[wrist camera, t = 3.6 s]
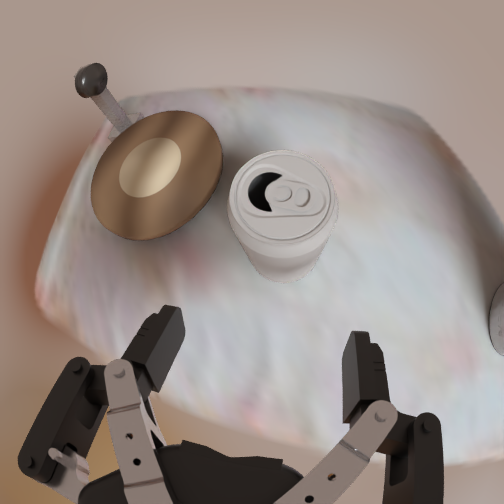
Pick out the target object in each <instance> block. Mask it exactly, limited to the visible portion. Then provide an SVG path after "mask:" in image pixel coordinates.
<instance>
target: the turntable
mask: <svg viewBox="0 0 504 504" xmlns="http://www.w3.org/2000/svg"><path fill="white" fill-rule="evenodd" d="M222 166H223V153H222V147H221V144H220V141H219V139H218V136H217V134H216V132H215V130H214V128H213V127H212V126H211V125H210V124H209V123H208V122H207V121H206V120H205V119H203V118H202V117H200V116H198V115H196V114H193V113H190V112H185V111H166V112H161V113H157V114H153V115H151V116H148V117H145V118H143V119H141V120H139V121H137V122H136V123H134V124H132V125H131V126H130V127H128V128H127V129H125V130H124V131H123V132H122V133H121V134H119V135H118V136H117V137H116V138H115V139H114V140H113V142H112V143H111V144H110V145H109V146H108V148H107V149H106V151H105V152H104V153H103V155H102V157H101V159H100V160H99V162H98V165H97V167H96V169H95V172H94V175H93V179H92V184H91V202H92V207H93V210H94V213H95V215H96V217H97V219H98V220H99V221H100V223H101V224H102V225H103V226H104V227H105V228H107V229H108V230H110V231H111V232H113V233H115V234H117V235H118V236H121V237H123V238H126V239H131V240H149V239H154V238H158V237H161V236H164V235H166V234H169V233H171V232H173V231H175V230H177V229H178V228H180V227H181V226H183V225H184V224H186V223H187V222H188V221H190V220H191V219H192V218H193V217H194V216H195V215H196V214H197V213H198V212H199V211H200V210H201V209H202V208H203V207H204V206H205V204H206V203H207V202H208V200H209V199H210V197H211V196H212V194H213V192H214V191H215V189H216V186H217V184H218V182H219V179H220V176H221V172H222Z"/></svg>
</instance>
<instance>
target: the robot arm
mask: <svg viewBox="0 0 504 504" xmlns="http://www.w3.org/2000/svg"><path fill="white" fill-rule="evenodd" d="M489 327H490V336H491V340H492V343H493V345H494V348H495V349H496V351H497V352H498V353H499V354H501V355H503V356H504V283H503V284H502V285H501V286H500V287H499V288H498V290H497V292H496V294H495V296H494V299H493V301H492V306H491V310H490V325H489ZM184 337H185V326H184V321H183V317H182V312H181V309H180V308H179V307H175V306H170V305H164V306H163V307H162V309H161V310H160V312H159V313H158V314H156V313H153V314H152V315H151V316H149V317H148V318H147V319H146V320H145V321H144V323H143V324H142V326H141V328H140V329H139V330H138V332H137V335H135V337H134V338H133V340H132V342H131V343H130V345H129V346H128V348H127V350H126V351H125V353H124V354H123V356H122V357H121V359H116V360H113V361H111V362H110V363H109V364H108V365H106V366H104V365H90V363H89V362H88V360H86V359H85V358H83V357H76V358H73V359H71V360H70V361H69V362H68V363H67V365H66V367H65V368H64V370H63V371H62V373H61V375H60V376H59V378H58V380H57V381H56V383H55V385H54V386H53V388H52V390H51V392H50V394H49V395H48V397H47V399H46V401H45V402H44V404H43V406H42V408H41V410H40V412H39V414H38V415H37V417H36V419H35V421H34V423H33V425H32V427H31V429H30V431H29V433H28V435H27V437H26V440H25V442H24V444H23V446H22V448H21V450H20V453H19V455H18V465H19V468H20V469H21V471H22V472H23V473H24V474H25V475H27V476H29V477H30V478H33V479H34V480H36V481H37V482H39V483H41V484H43V485H46V486H48V487H50V488H52V489H53V490H55V491H56V492H58V493H60V494H61V495H63V496H64V497H66V498H67V499H69V500H71V501H73V502H74V503H76V504H333V503H334V502H335V501H336V500H337V499H338V498H339V497H340V496H341V495H342V494H343V493H344V492H345V490H346V489H347V488H348V487H349V486H350V485H351V484H352V483H353V482H354V481H355V479H356V478H357V477H358V476H359V474H360V473H361V472H362V471H363V470H364V469H365V467H366V466H367V465H368V463H369V461H370V458H371V456H372V455H373V454H374V453H375V452H379V453H383V454H386V467H385V483H384V493H383V502H382V504H443V496H444V463H443V445H442V433H441V424H440V421H439V419H438V418H437V416H435V415H434V414H432V413H427V412H426V413H422V414H420V415H419V416H418V417H414V416H410V415H406V414H403V413H400V412H398V411H397V410H396V408H395V407H394V405H393V404H391V402H390V398H389V390H388V382H387V375H386V372H385V370H386V369H385V364H384V356H383V352H382V350H381V349H380V347H379V346H378V344H377V343H370V337H369V333H368V332H365V331H352V332H351V334H350V337H349V339H348V342H347V344H346V347H345V349H344V352H343V357H342V382H343V423H350V430H349V432H348V433H347V434H346V435H345V436H344V437H343V438H342V439H341V441H340V442H339V443H338V444H337V445H336V446H335V447H334V448H333V449H332V450H331V451H330V452H329V453H328V455H327V456H326V457H325V458H324V459H323V460H322V461H321V462H320V463H319V464H318V465H317V466H316V467H315V468H313V469H312V470H311V471H310V472H309V473H308V474H307V475H306V476H305V477H303V476H302V474H300V473H299V472H298V471H296V470H295V469H293V468H291V467H289V466H287V465H284V464H282V462H283V459H274V458H267V457H260V456H253V457H228V456H225V455H223V454H221V453H219V452H217V451H214V450H213V449H211V448H209V447H207V446H204V445H200V444H196V443H192V442H189V441H185V440H182V443H181V444H176V445H167V444H166V442H165V439H164V437H163V435H162V434H161V431H160V429H159V427H158V424H157V421H156V417H155V415H154V412H153V408H152V405H151V402H150V399H149V394H150V392H151V390H152V391H155V392H158V393H159V392H160V389H161V387H162V385H163V383H164V381H165V379H166V376H167V374H168V372H169V370H170V368H171V366H172V364H173V362H174V359H175V357H176V355H177V353H178V351H179V349H180V347H181V345H182V343H183V340H184ZM108 406H110V411H109V412H107V420H108V425H109V429H110V434H111V438H112V442H113V446H114V450H115V454H116V458H117V461H118V465H119V468H120V469H118V470H116V471H114V472H111V473H109V474H107V475H105V476H103V477H101V478H99V479H96V480H94V481H92V482H90V483H89V481H88V475H89V473H90V472H89V467H88V463H87V461H86V460H85V459H86V456H87V454H88V452H89V449H90V447H91V444H92V442H93V440H94V437H95V435H96V433H97V430H98V428H99V426H100V424H101V421H102V419H103V417H104V415H105V412H106V410H107V408H108Z"/></svg>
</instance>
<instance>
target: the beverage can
mask: <svg viewBox="0 0 504 504" xmlns="http://www.w3.org/2000/svg"><path fill="white" fill-rule="evenodd" d="M227 213H228V218H229V222H230V225H231V227H232V229H233V231H234V233H235V234H236V236H237V238H238V240H239V241H240V243H241V245H242V247H243V249H244V250H245V252H246V254H247V256H248V257H249V259H250V261H251V263H252V264H253V266H254V268H255V269H256V270H257V271H258V273H259V274H261V275H262V276H263V277H265V278H266V279H268V280H271V281H273V282H278V283H290V282H294V281H297V280H300V279H301V278H303V277H305V276H306V275H307V274H308V273H309V272H310V271H311V270H312V269H313V267H314V266H315V264H316V262H317V260H318V258H319V256H320V254H321V252H322V251H323V249H324V247H325V245H326V243H327V241H328V239H329V237H330V235H331V233H332V231H333V229H334V227H335V224H336V221H337V217H338V199H337V195H336V192H335V189H334V185H333V182H332V180H331V178H330V176H329V174H328V173H327V171H326V170H325V169H324V168H323V167H322V166H321V165H320V164H319V163H318V162H317V161H315V160H314V159H312V158H311V157H309V156H307V155H305V154H302V153H299V152H295V151H290V150H275V151H269V152H265V153H262V154H260V155H258V156H256V157H254V158H252V159H251V160H249V161H248V162H247V163H246V164H245V165H243V166H242V167H241V168H240V170H239V171H238V172H237V174H236V175H235V177H234V179H233V181H232V184H231V188H230V193H229V197H228V202H227Z"/></svg>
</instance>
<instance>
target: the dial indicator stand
mask: <svg viewBox="0 0 504 504" xmlns="http://www.w3.org/2000/svg"><path fill="white" fill-rule="evenodd" d="M74 77H75V87H76V90H77V92H78V93H79V95H80V96H81V97H84V98H89V97H91V98H92V100H93V101H94V102H95V104H96V105H97V106H98V107H99V109H100V110H101V111H102V112H103V113H104V115H105V116H106V117H107V118H108V119H109V121H110V122H111V123H112V124H113V128H112V130H111V132H110V134H109V137H108V139H109V140H110V141H111V142H113V140H114V139H115V138H116V137H117V136H118V135H119V134H121V133H122V132H123V131H124V130H125V129H127V128H128V127H130V126H131V125H132V124H134V123H136V122H137V121H139V120H141V119H143V116H142V114H141V113H135V114H129V115H126V113H125V112H124V111H123V109H122V108H121V107H120V105H119V104H118V103H117V101H116V100H115V99H114V97H113V96H112V94H111V93H110V92H109V90H108V89H107V88H106V85H107V72H106V70H105V68H104V66H103V65H101V64H99V63H94V64H91V65H90V64H89V65H86V66H84V67H81V68H80V69H79V70H78V72H77V73H76V74H75V76H74Z"/></svg>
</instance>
